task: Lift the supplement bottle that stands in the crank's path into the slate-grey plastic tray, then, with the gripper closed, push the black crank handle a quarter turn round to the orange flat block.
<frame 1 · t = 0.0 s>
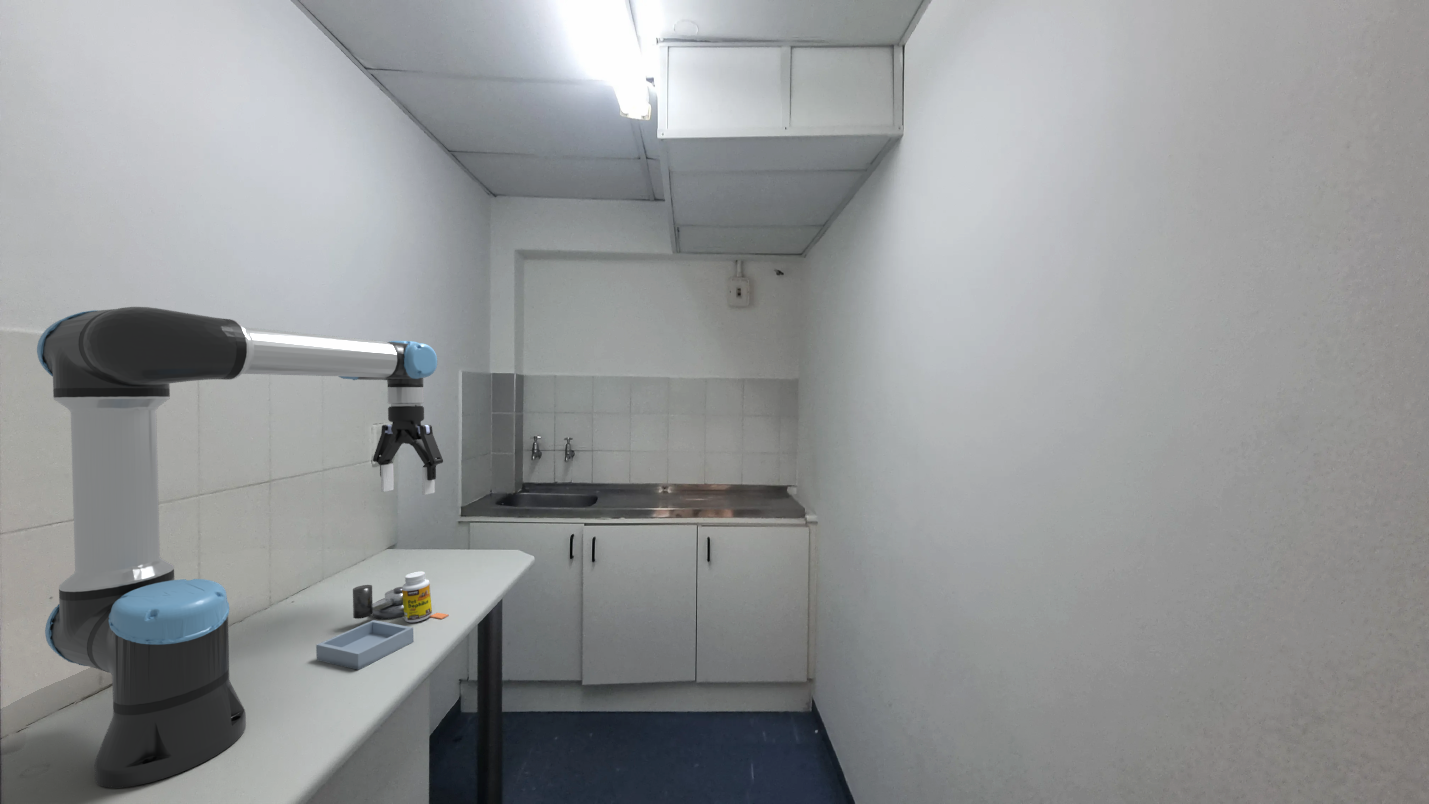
hand: (407, 492, 125), 28 cm above the table, fingers open, 13 cm apart
crank housing: (399, 609, 124), on the table
crank: (384, 593, 120), point 5 cm above the table, hinge at 0.0°
tray: (366, 650, 104), on the table
supplement bottle: (418, 618, 119), on the table, touching orange flat block
orange flat block: (439, 616, 120), on the table
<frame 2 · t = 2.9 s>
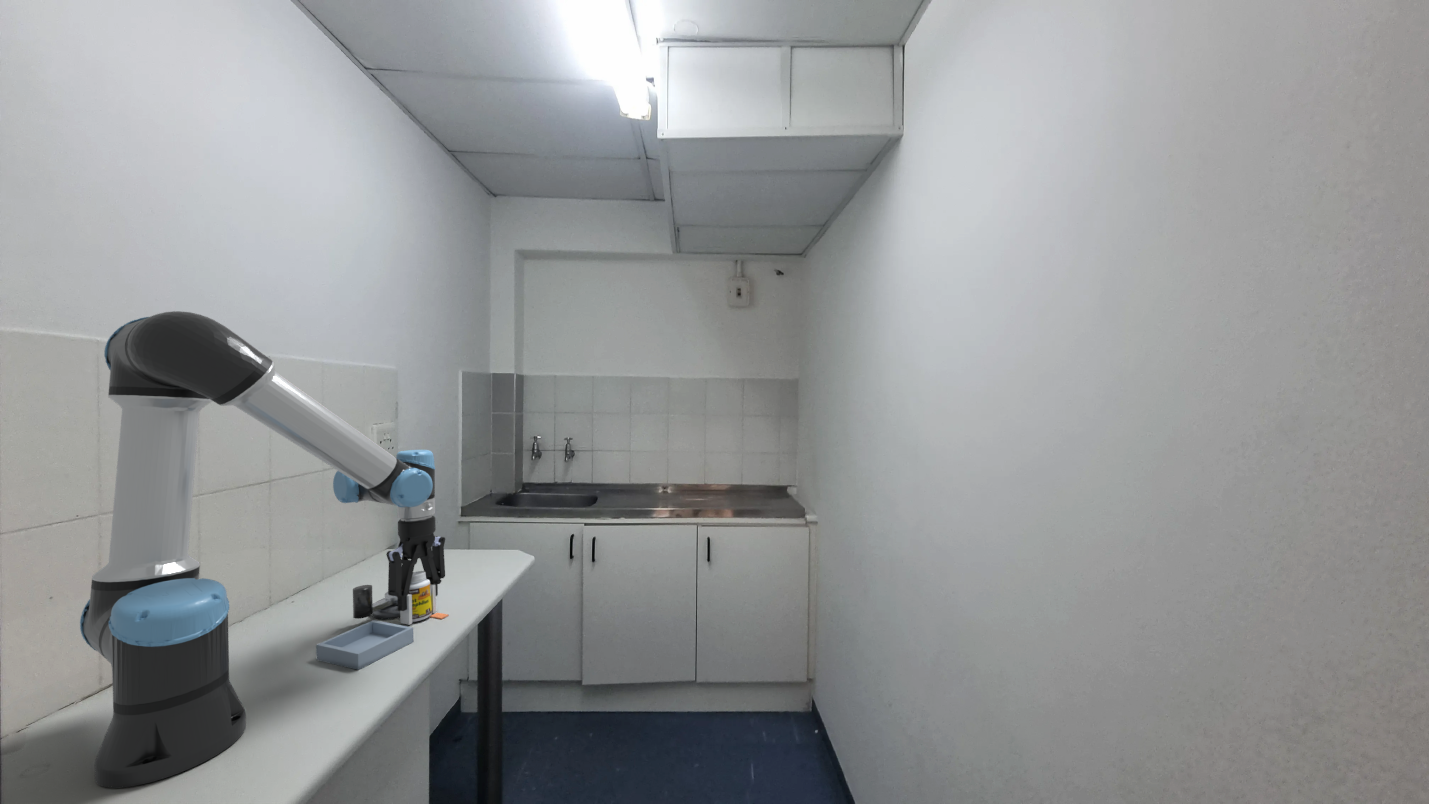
hand: (418, 617, 119), 0 cm above the table, fingers closed on supplement bottle, 6 cm apart
supplement bottle: (418, 618, 119), on the table, touching gripper
everything else where it was.
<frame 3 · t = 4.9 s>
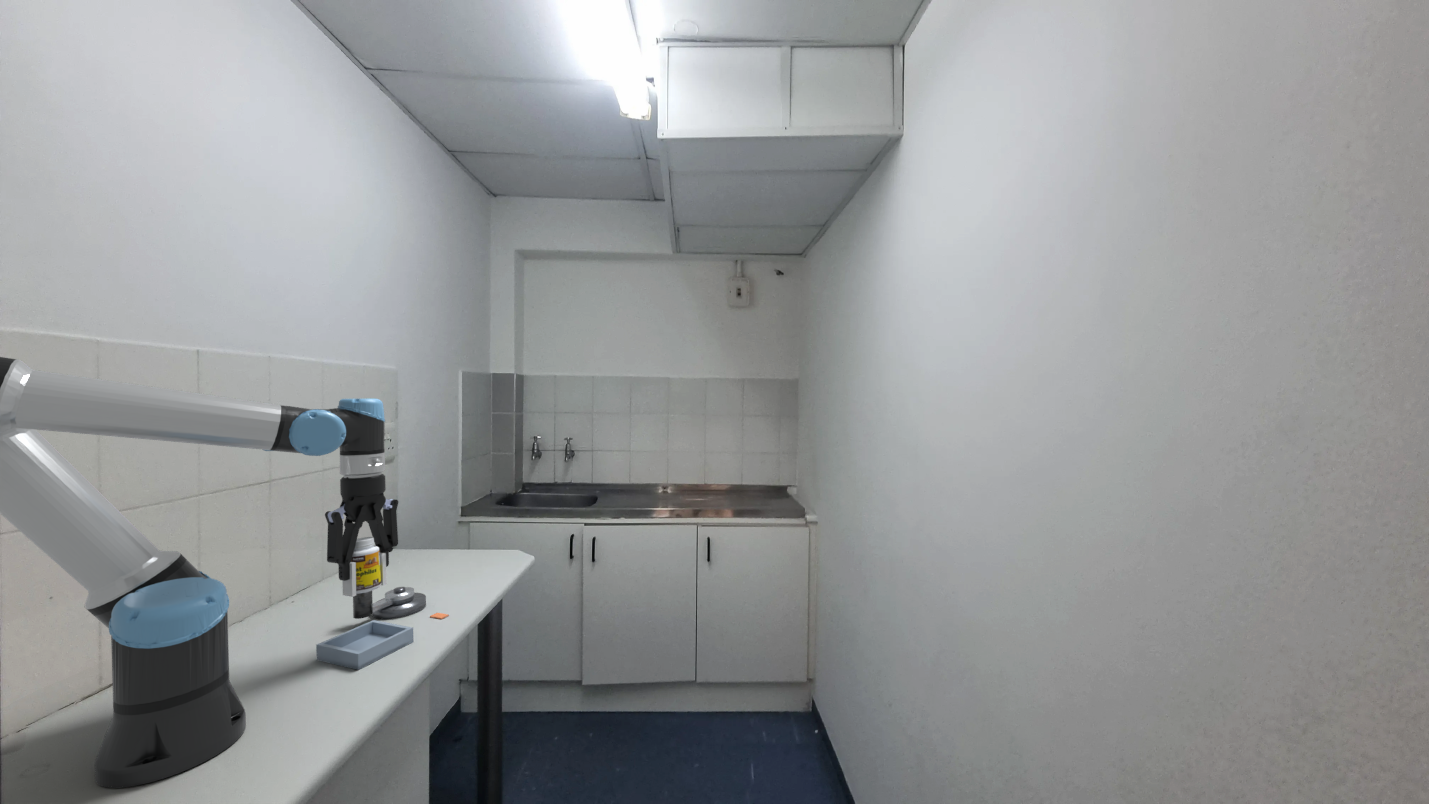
hand: (365, 589, 104), 12 cm above the table, fingers closed on supplement bottle, 6 cm apart
supplement bottle: (365, 590, 104), point 12 cm above the table, touching gripper
everything else where it was.
when the fingers open (3 cm above the table, at t = 6.9 s): supplement bottle drops 2 cm, resting on tray.
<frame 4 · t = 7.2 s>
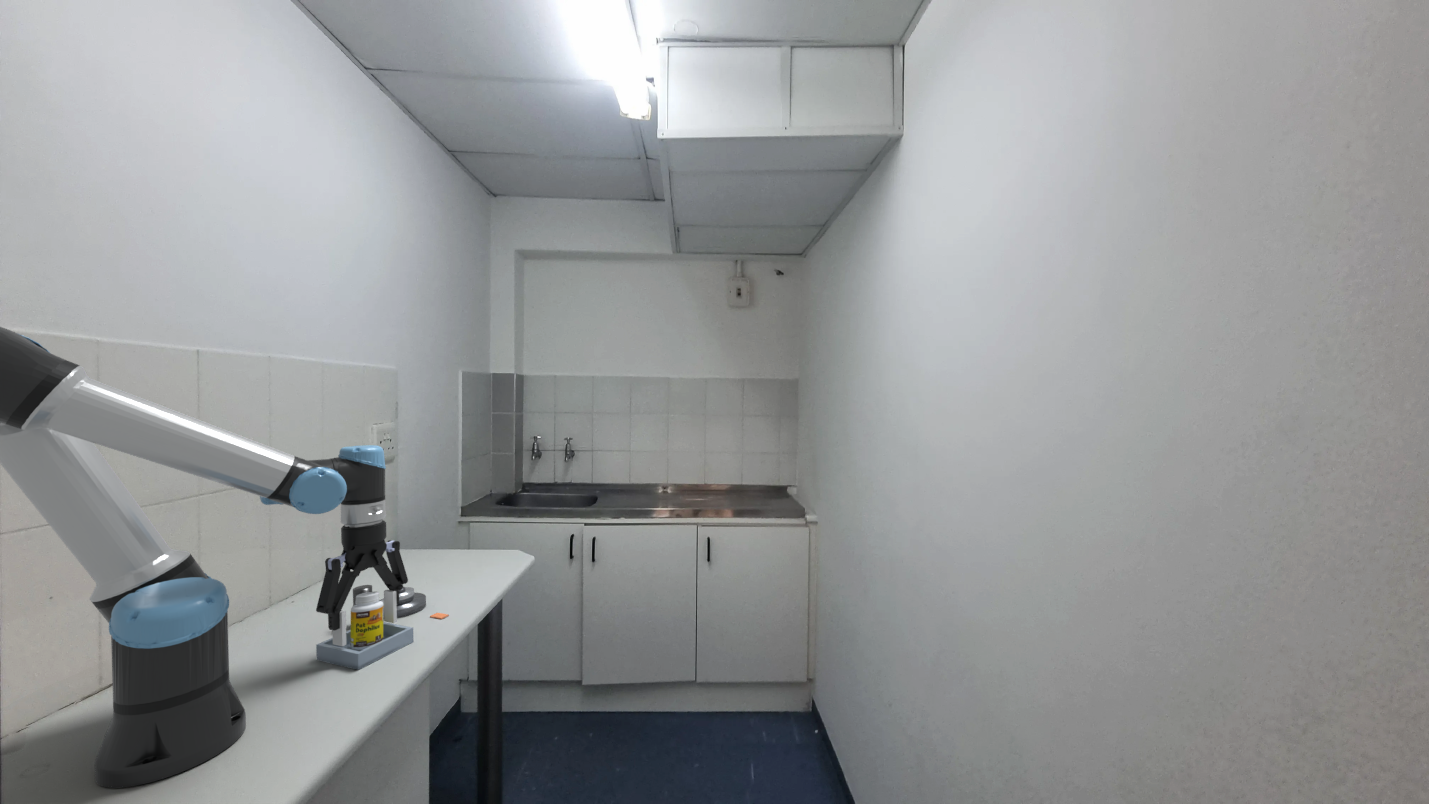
hand: (366, 632, 104), 4 cm above the table, fingers open, 10 cm apart
supplement bottle: (367, 646, 104), point 1 cm above the table, touching tray
everything else where it was.
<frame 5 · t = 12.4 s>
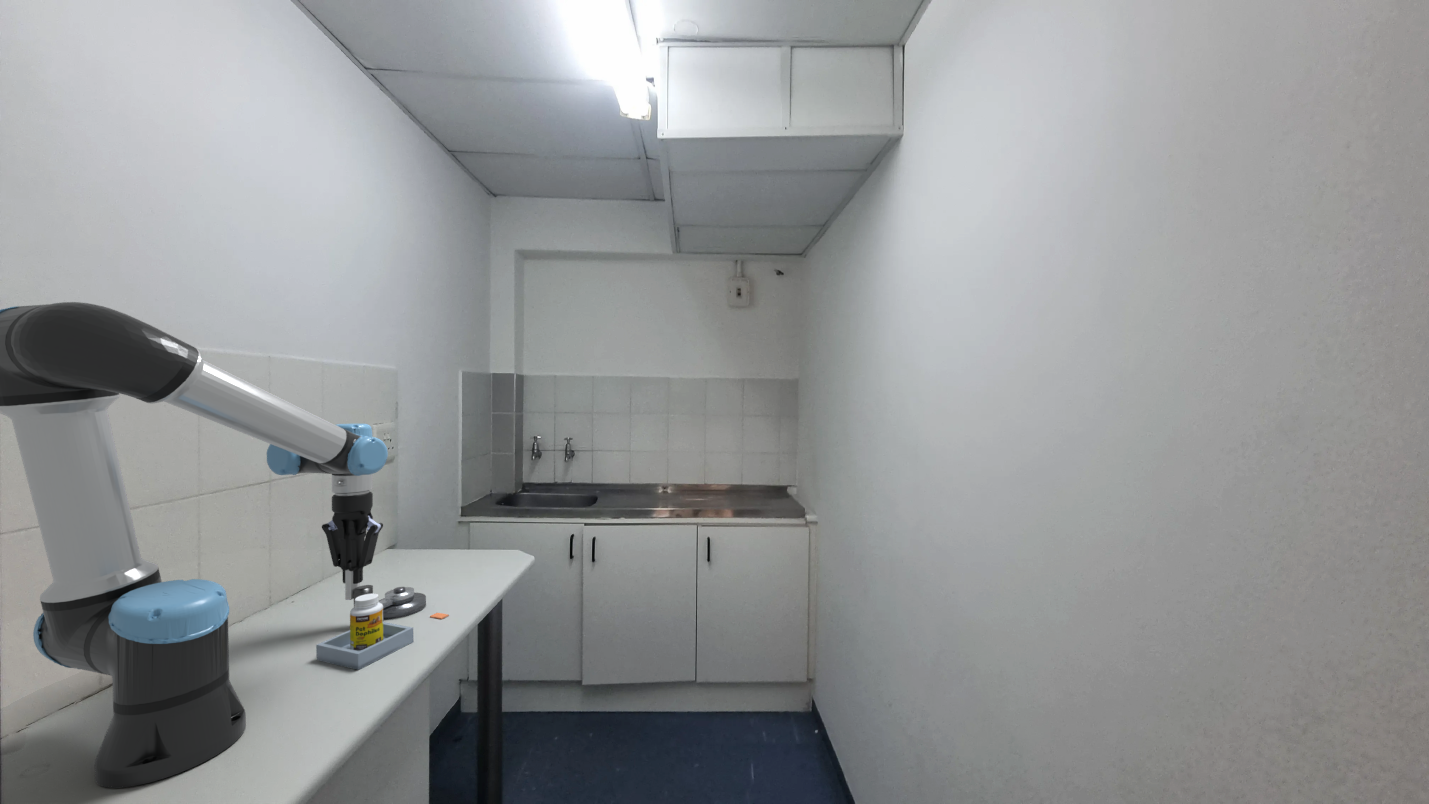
hand: (352, 597, 115), 6 cm above the table, fingers closed
crank: (384, 593, 120), point 5 cm above the table, hinge at 1.3°, touching gripper
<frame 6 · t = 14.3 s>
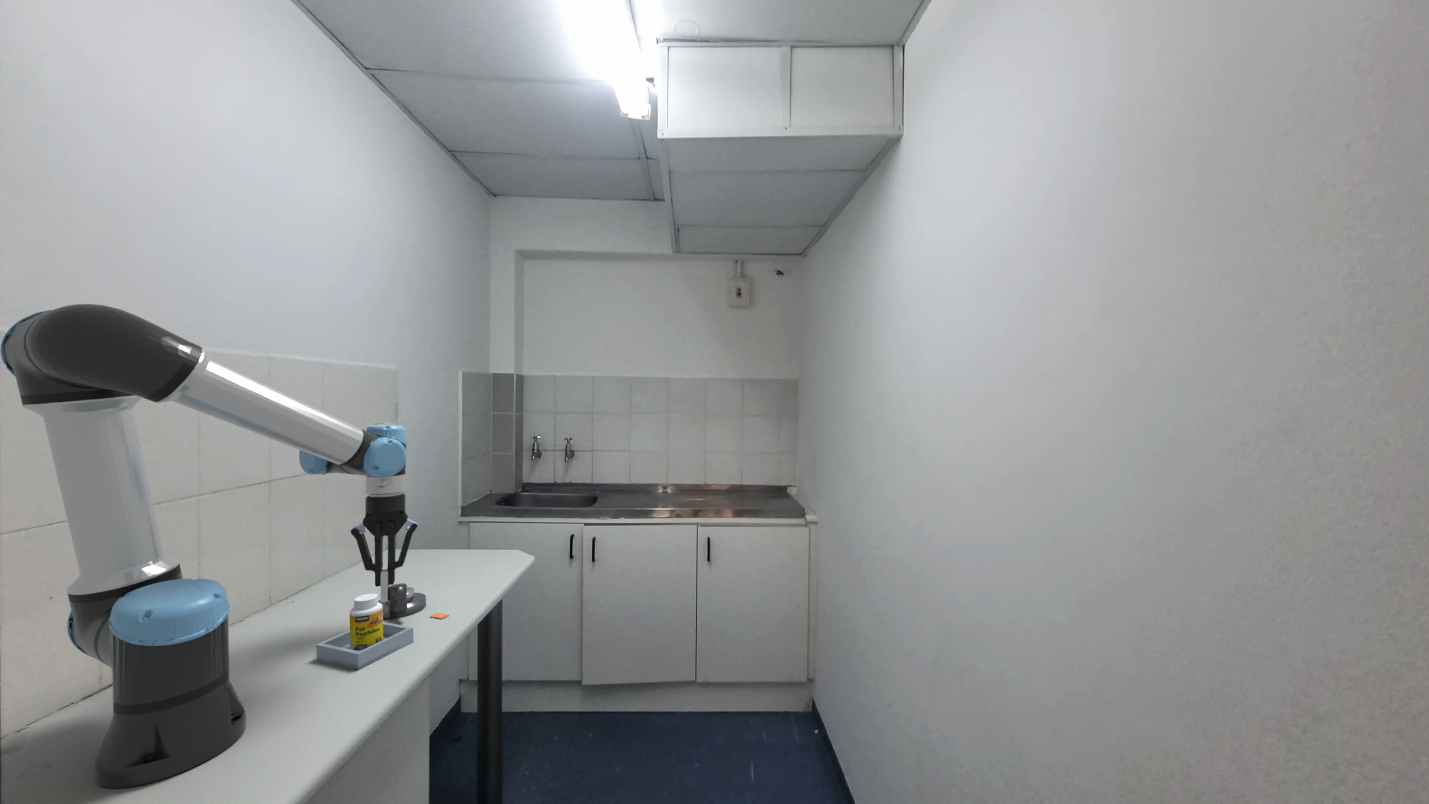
hand: (384, 599, 115), 6 cm above the table, fingers closed
crank: (398, 592, 120), point 5 cm above the table, hinge at 49.1°, touching gripper
everything else where it was.
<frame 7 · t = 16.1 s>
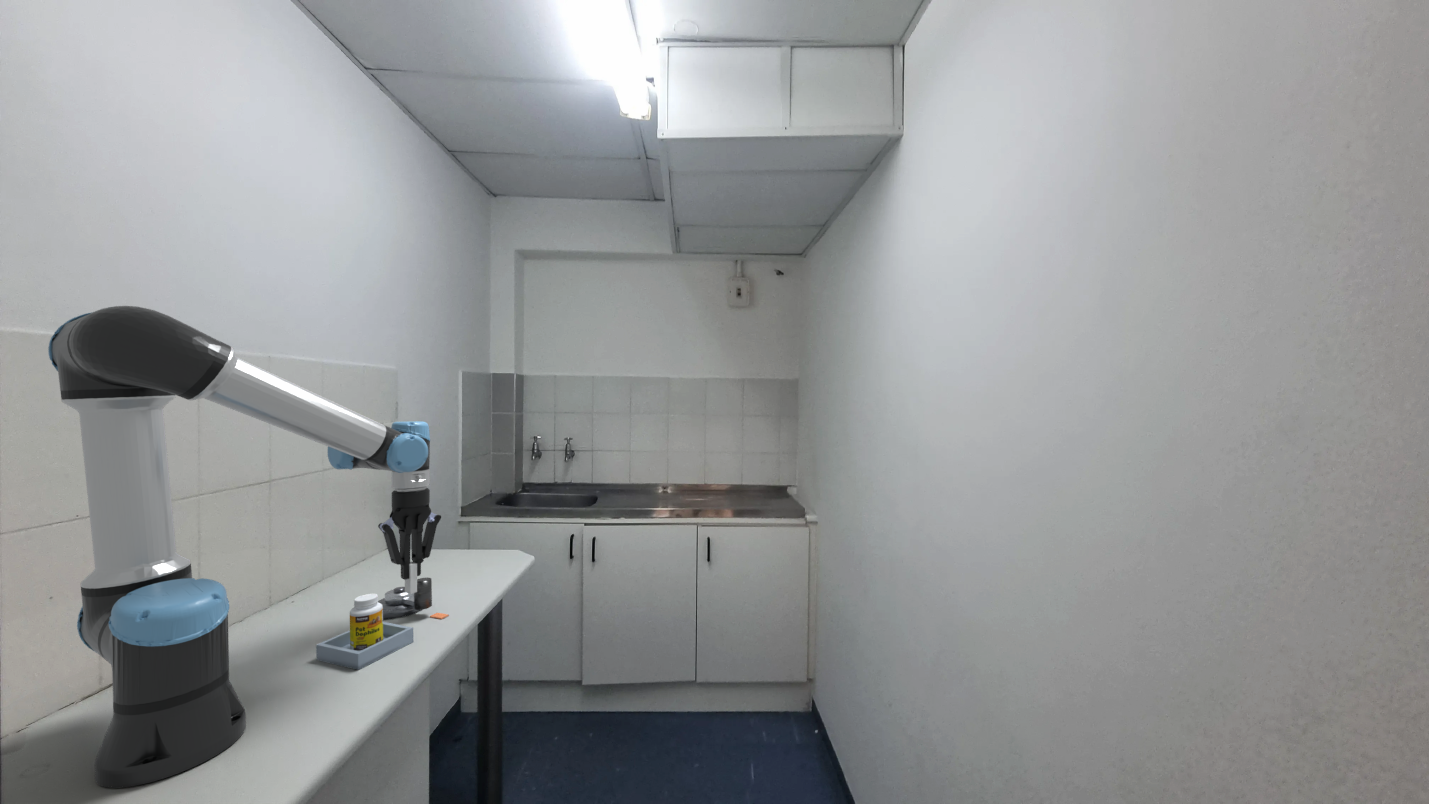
hand: (410, 591, 118), 7 cm above the table, fingers closed
crank: (409, 589, 122), point 5 cm above the table, hinge at 82.4°, touching gripper
everything else where it was.
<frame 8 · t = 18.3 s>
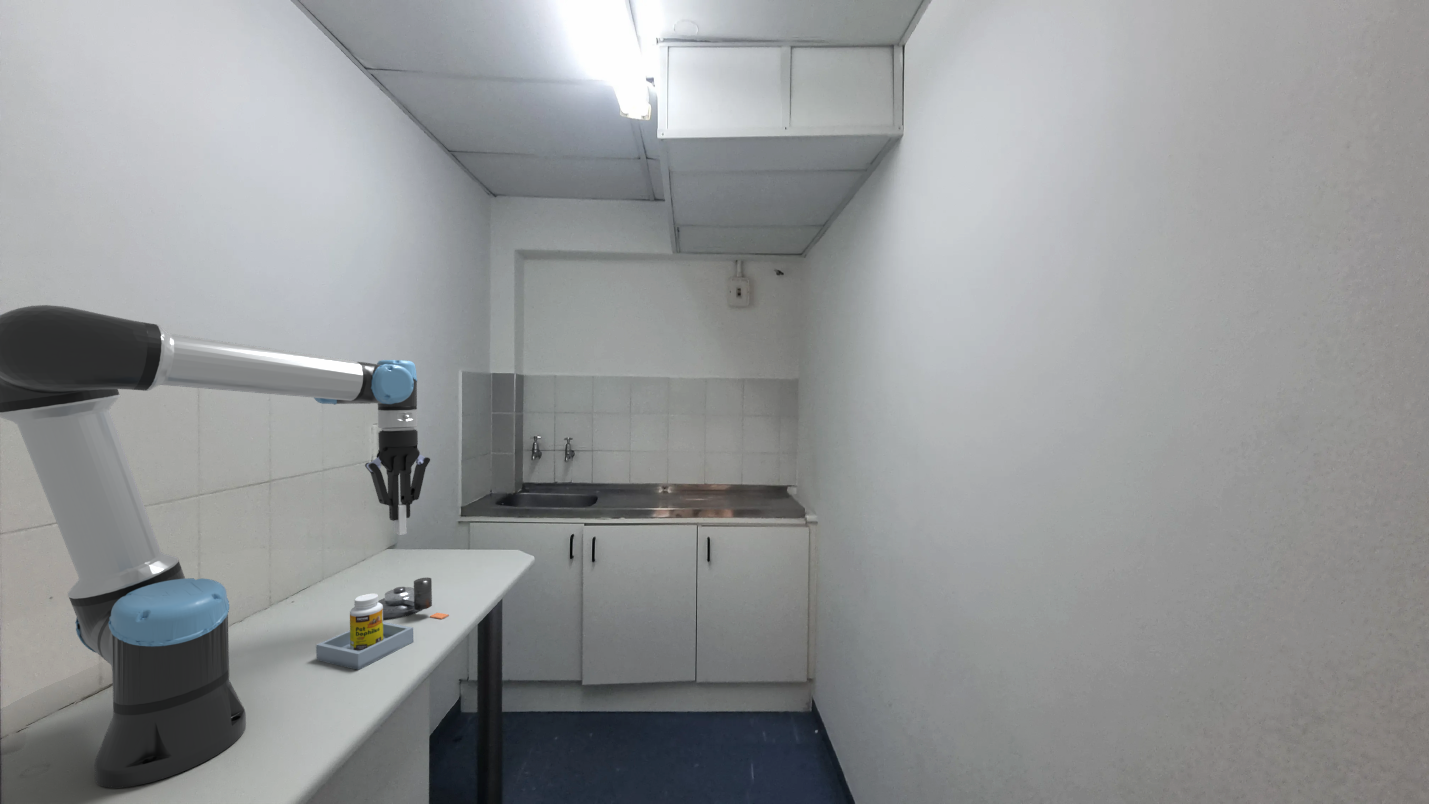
hand: (400, 533, 116), 20 cm above the table, fingers closed
crank: (409, 589, 122), point 5 cm above the table, hinge at 82.4°
everything else where it was.
at the end: crank at +82° (first picture: +0°); supplement bottle inside the target area on the tray (0.1 cm from its centre), point 0.4 cm above the tray's base; supplement bottle tilted 0° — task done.
